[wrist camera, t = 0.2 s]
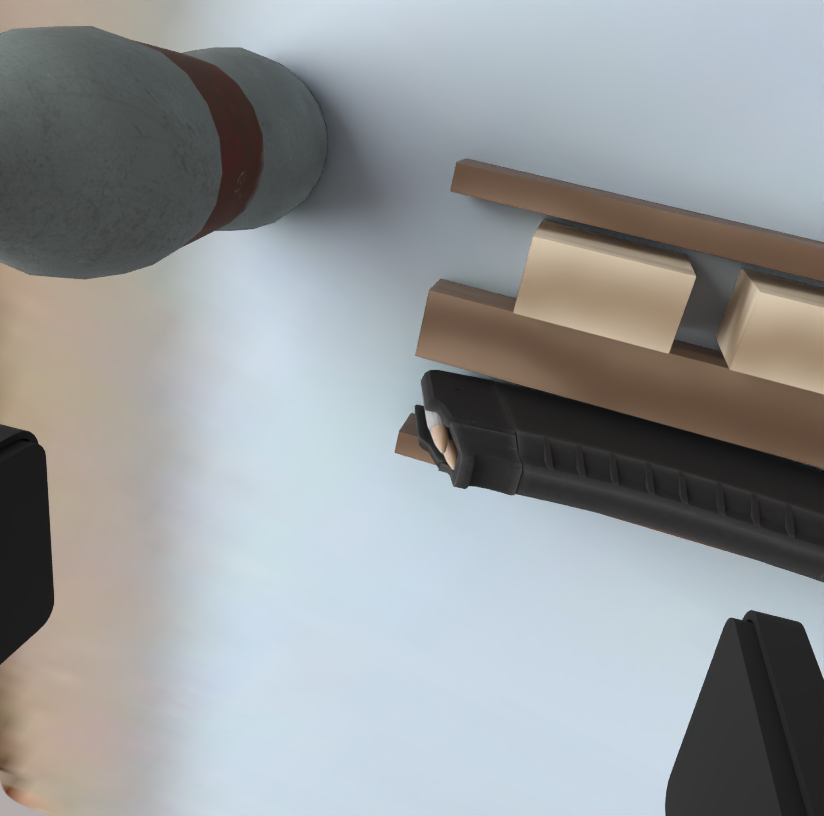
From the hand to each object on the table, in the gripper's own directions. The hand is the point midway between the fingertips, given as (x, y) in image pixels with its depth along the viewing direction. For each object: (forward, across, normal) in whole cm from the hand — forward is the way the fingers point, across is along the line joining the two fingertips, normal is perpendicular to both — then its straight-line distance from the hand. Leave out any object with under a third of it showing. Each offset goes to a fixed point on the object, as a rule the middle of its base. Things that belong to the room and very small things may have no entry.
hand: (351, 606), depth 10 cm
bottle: (+36, +17, -2) cm, 41 cm away
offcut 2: (+36, -14, +2) cm, 39 cm away
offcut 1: (+36, -3, +2) cm, 37 cm away
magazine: (+37, -10, +12) cm, 40 cm away
